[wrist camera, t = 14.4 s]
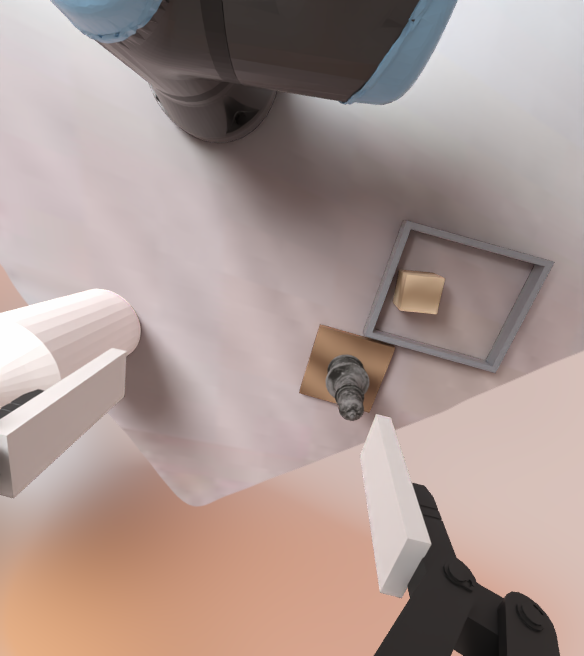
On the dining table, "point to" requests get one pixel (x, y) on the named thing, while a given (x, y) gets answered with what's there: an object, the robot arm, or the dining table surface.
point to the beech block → (418, 291)
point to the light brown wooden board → (345, 343)
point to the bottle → (61, 339)
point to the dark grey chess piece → (347, 385)
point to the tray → (511, 324)
